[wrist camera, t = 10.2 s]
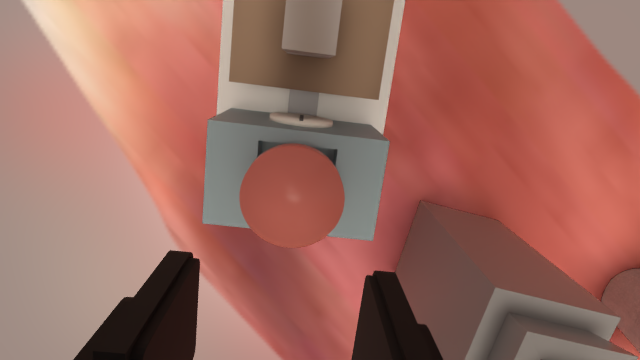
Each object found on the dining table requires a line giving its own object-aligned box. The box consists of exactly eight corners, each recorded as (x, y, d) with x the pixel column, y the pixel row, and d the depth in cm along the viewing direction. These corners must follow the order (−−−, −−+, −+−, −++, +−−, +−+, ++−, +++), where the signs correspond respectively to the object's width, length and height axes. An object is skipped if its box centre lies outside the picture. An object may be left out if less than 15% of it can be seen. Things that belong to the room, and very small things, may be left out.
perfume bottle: (420, 200, 33) (549, 350, 15) (498, 220, 33) (707, 385, 16) (394, 274, 34) (483, 485, 17) (468, 291, 35) (628, 512, 17)
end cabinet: (371, 119, 29) (391, 134, 22) (358, 203, 31) (372, 240, 24) (231, 102, 29) (208, 112, 22) (225, 188, 30) (202, 223, 23)
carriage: (388, -16, 26) (429, -59, 17) (371, 96, 28) (400, 109, 19) (245, -36, 25) (212, -91, 16) (237, 80, 27) (204, 85, 18)
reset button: (346, 143, 22) (351, 154, 20) (333, 230, 24) (337, 252, 21) (251, 132, 22) (243, 141, 19) (244, 221, 24) (235, 242, 21)
